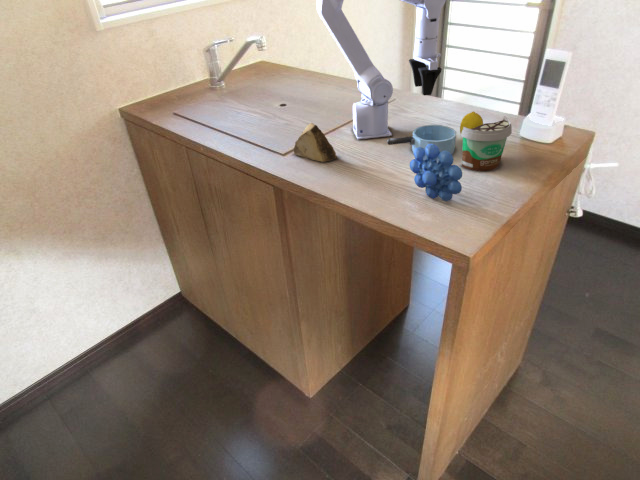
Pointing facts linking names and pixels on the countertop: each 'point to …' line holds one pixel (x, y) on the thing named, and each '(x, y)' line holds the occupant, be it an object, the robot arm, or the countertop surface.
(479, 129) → the food container
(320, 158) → the rock
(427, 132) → the pan
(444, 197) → the grapes
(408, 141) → the pan handle
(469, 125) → the lemon
